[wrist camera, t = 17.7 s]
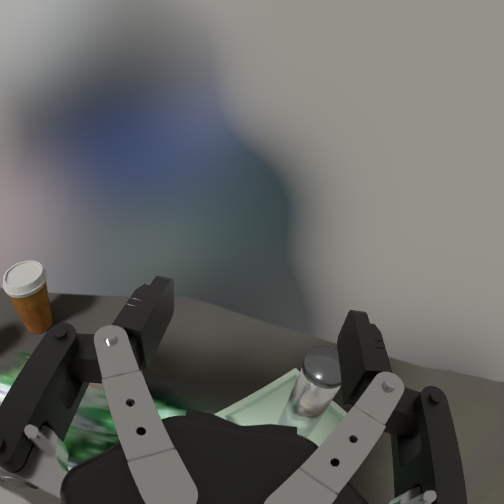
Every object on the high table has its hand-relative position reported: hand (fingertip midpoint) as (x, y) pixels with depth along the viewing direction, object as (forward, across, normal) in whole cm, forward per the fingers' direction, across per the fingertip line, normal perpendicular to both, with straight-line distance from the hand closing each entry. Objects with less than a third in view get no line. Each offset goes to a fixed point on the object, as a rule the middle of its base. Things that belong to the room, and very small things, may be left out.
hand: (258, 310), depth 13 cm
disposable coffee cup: (+19, +41, +32) cm, 56 cm away
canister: (+11, -8, +31) cm, 34 cm away
